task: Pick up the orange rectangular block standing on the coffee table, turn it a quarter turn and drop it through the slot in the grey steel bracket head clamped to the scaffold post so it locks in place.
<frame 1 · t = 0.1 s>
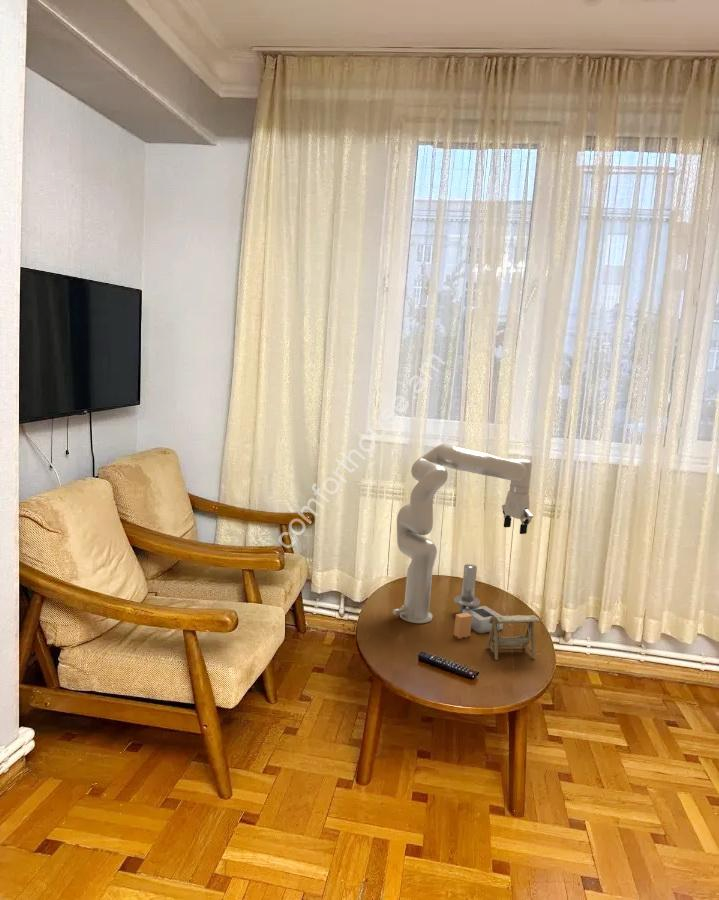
hand: (514, 530, 279), 31 cm above the table, tool pointing down, fingers open, 9 cm apart
swing bench: (510, 654, 237), on the table
orange rectangular block: (461, 635, 248), on the table
bracket head: (481, 625, 259), on the table
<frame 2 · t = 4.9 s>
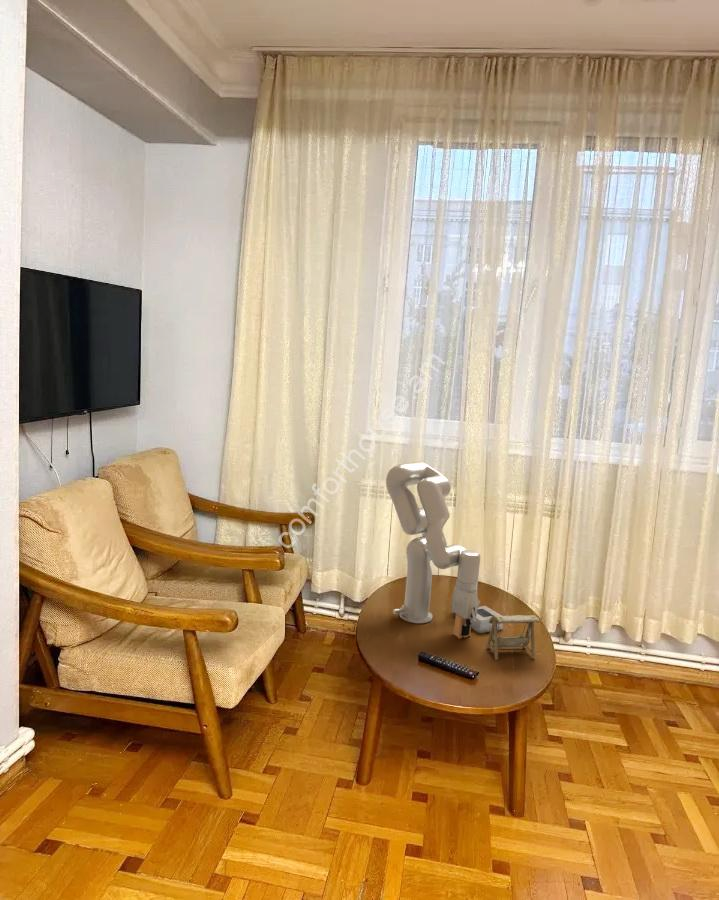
hand: (462, 632, 248), 1 cm above the table, tool pointing down, fingers closed on orange rectangular block, 3 cm apart
orange rectangular block: (461, 635, 248), on the table, touching gripper
everything else where it was.
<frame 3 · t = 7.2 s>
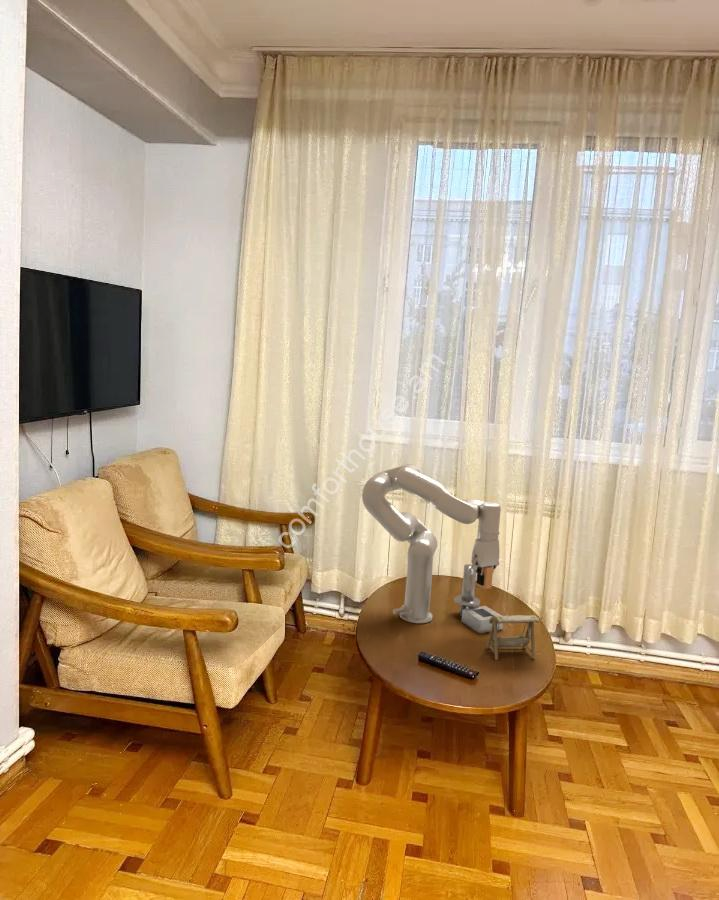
hand: (483, 583, 254), 17 cm above the table, tool pointing down, fingers closed on orange rectangular block, 3 cm apart
orange rectangular block: (483, 586, 254), point 16 cm above the table, touching gripper
everything else where it was.
when the fingers open (6 cm above the table, at t = 9.7 s): orange rectangular block drops 5 cm, resting in bracket head.
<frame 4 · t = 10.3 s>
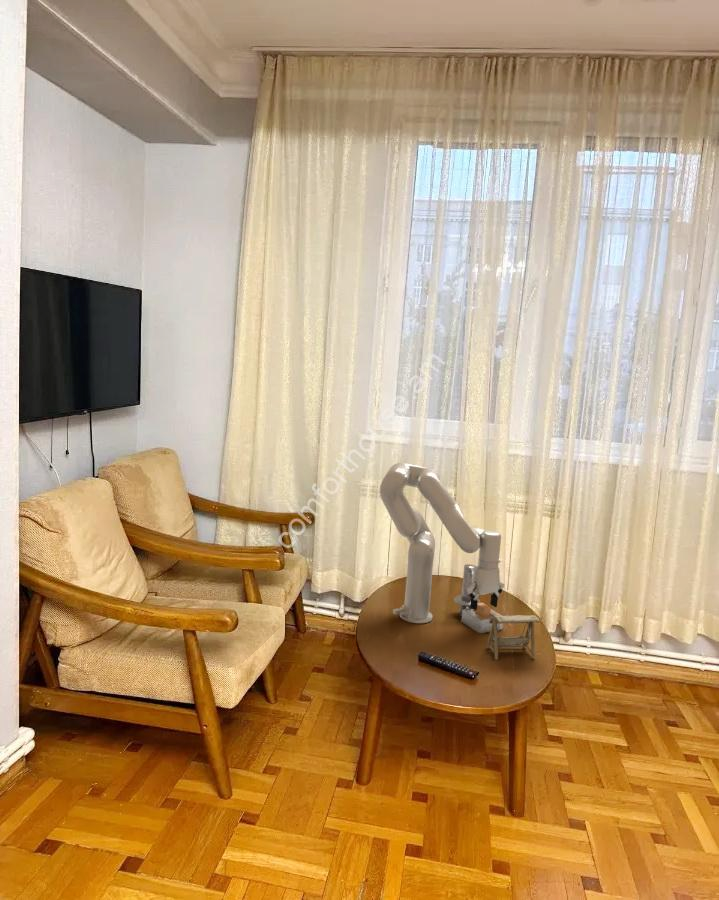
hand: (483, 607, 258), 7 cm above the table, tool pointing down, fingers open, 9 cm apart
orange rectangular block: (481, 625, 259), resting in bracket head
everything else where it was.
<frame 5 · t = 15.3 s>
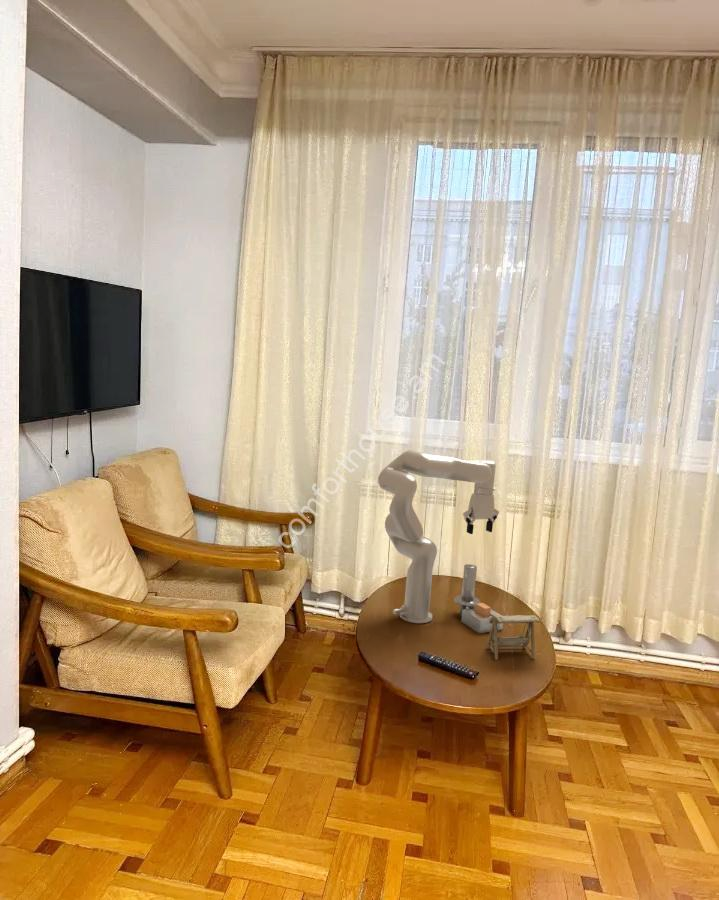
hand: (479, 532, 275), 30 cm above the table, tool pointing down, fingers open, 9 cm apart
nothing on the table moved.
at the end: orange rectangular block 0.2 cm off-centre on the bracket head, point 0.0 cm above the bracket head's base; orange rectangular block tilted 0°; the gripper is holding nothing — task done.
